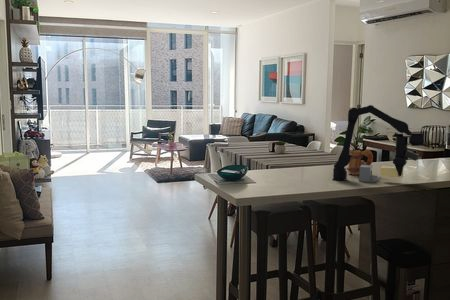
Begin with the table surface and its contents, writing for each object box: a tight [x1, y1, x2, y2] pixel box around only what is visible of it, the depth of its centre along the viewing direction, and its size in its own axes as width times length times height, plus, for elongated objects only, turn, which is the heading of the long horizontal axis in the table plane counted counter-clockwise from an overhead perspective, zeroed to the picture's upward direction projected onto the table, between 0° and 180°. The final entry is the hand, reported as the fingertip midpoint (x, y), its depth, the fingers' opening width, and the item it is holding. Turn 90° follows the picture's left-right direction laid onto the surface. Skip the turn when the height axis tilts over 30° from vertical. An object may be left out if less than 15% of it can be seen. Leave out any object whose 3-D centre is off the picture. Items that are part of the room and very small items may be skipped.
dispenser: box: [358, 164, 379, 183], centre depth 239 cm, size 8×8×8 cm
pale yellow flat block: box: [380, 166, 404, 179], centre depth 234 cm, size 11×2×5 cm, turn 64°
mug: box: [346, 148, 374, 176], centre depth 257 cm, size 15×8×15 cm, turn 62°
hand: (400, 175), depth 232 cm, fingers closed on pale yellow flat block, 2 cm apart
